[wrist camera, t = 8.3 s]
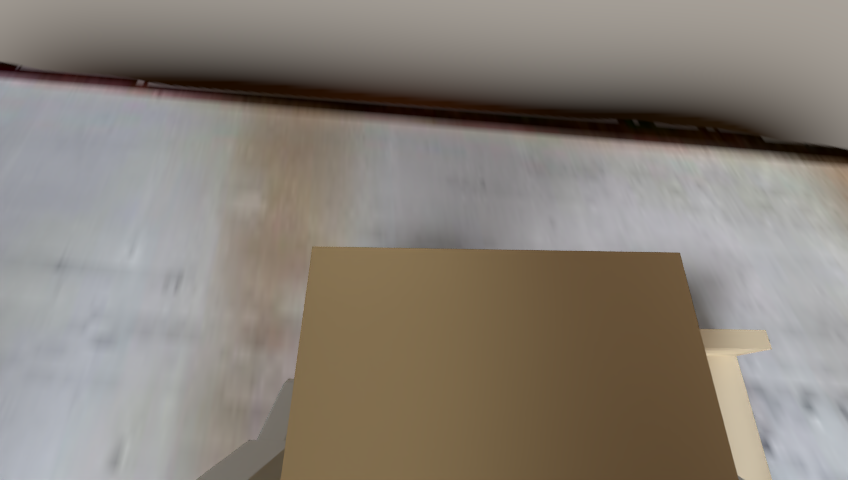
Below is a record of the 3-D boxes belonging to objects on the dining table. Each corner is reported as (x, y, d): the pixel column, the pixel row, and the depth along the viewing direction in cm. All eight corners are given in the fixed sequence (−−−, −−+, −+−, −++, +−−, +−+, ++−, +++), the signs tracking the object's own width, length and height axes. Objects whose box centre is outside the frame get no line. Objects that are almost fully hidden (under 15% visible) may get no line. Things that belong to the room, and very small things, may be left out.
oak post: (378, 502, 13) (239, 782, 3) (385, 362, 15) (312, 246, 5) (513, 505, 13) (819, 790, 3) (504, 364, 15) (680, 252, 5)
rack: (314, 528, 21) (294, 549, 18) (334, 334, 25) (321, 321, 22) (770, 535, 21) (839, 557, 18) (717, 342, 25) (765, 330, 22)
